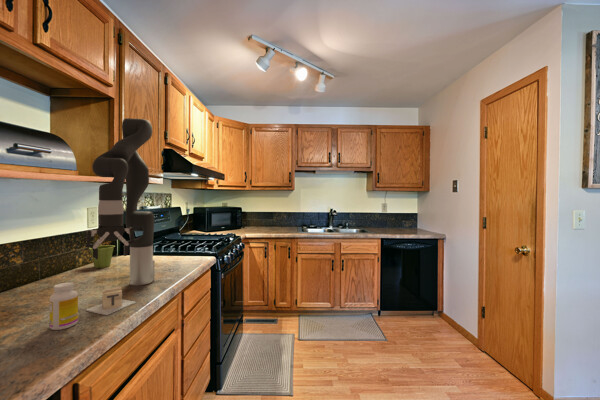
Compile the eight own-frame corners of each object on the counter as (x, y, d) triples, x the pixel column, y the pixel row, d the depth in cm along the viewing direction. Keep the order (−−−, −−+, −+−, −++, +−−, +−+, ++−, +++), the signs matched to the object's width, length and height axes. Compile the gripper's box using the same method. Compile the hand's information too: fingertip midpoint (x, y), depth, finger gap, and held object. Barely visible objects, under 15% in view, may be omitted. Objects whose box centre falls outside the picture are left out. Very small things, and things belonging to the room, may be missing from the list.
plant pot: (120, 264, 157) (120, 245, 157) (103, 269, 145) (103, 249, 145) (101, 263, 158) (101, 244, 158) (83, 269, 146) (83, 248, 146)
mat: (116, 299, 104) (116, 298, 104) (135, 303, 101) (135, 301, 101) (86, 310, 94) (86, 309, 94) (106, 315, 90) (106, 313, 90)
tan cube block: (102, 304, 98) (102, 290, 98) (120, 301, 101) (120, 286, 101) (103, 310, 93) (103, 294, 93) (122, 306, 97) (122, 291, 97)
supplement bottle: (83, 320, 87) (83, 281, 86) (66, 330, 80) (66, 288, 80) (62, 320, 86) (62, 281, 86) (43, 331, 80) (43, 288, 80)
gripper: (132, 211, 104) (132, 252, 105) (85, 212, 95) (86, 258, 96) (135, 212, 98) (135, 256, 99) (86, 214, 89) (86, 262, 90)
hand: (111, 257), depth 97 cm, fingers open, 8 cm apart
